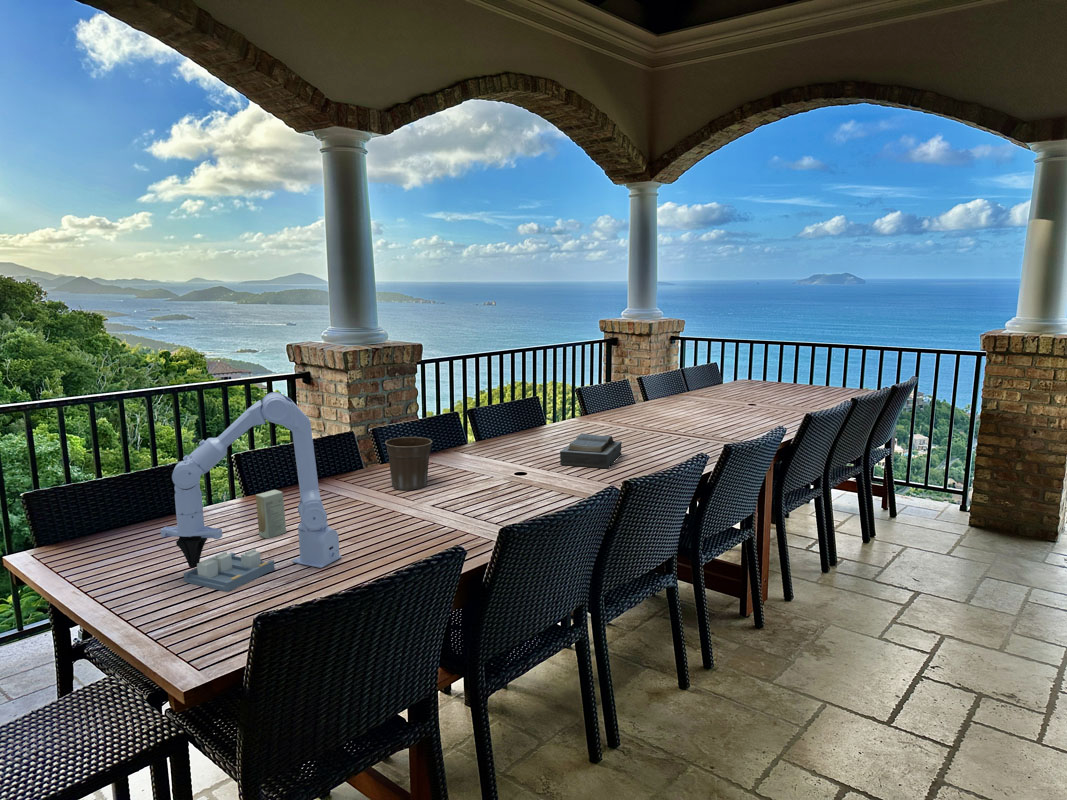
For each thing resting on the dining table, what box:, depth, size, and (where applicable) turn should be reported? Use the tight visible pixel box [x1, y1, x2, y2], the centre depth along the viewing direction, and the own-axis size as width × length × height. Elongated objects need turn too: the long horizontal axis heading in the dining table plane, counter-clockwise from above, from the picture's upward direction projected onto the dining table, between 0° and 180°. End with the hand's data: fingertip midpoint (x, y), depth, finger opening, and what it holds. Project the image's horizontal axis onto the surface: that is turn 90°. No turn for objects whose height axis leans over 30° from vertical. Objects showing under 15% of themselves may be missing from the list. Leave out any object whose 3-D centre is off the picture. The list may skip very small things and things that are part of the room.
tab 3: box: [240, 548, 262, 568], centre depth 172 cm, size 3×3×4 cm
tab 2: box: [211, 551, 232, 572], centre depth 170 cm, size 3×3×4 cm
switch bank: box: [183, 552, 275, 593], centre depth 169 cm, size 14×14×2 cm
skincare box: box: [255, 489, 287, 540], centre depth 197 cm, size 6×4×12 cm
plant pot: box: [384, 436, 433, 492], centre depth 245 cm, size 16×16×16 cm
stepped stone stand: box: [559, 433, 622, 470], centre depth 281 cm, size 23×27×10 cm
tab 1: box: [196, 557, 218, 578], centre depth 166 cm, size 3×3×4 cm
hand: (194, 565), depth 168 cm, fingers closed
